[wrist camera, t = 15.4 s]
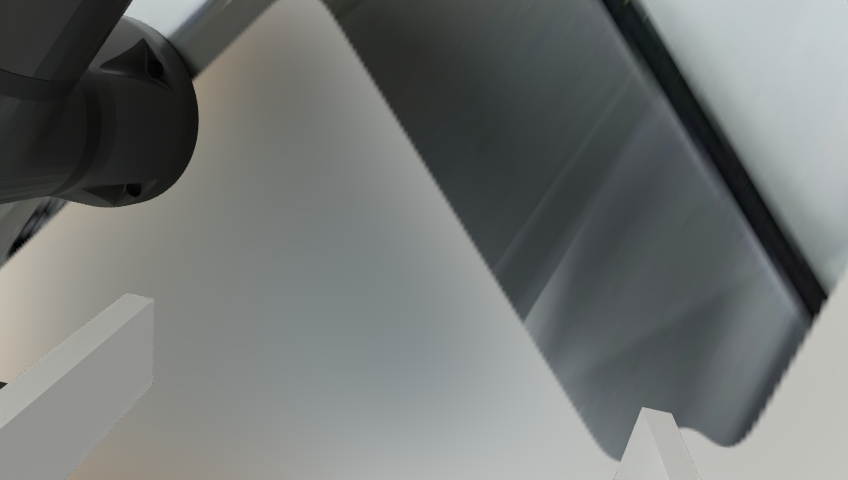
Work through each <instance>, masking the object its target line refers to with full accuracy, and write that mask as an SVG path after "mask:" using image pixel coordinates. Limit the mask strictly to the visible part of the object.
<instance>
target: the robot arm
mask: <svg viewBox="0 0 848 480" xmlns="http://www.w3.org/2000/svg"><path fill="white" fill-rule="evenodd" d="M132 1H133V0H0V204H5V203H11V202H17V201H22V200H28V199H34V198H40V197H46V196H50V197H54V198H59V199H63V200H68V201H72V202H77V203H81V204H85V205H90V206H95V207H121V206H127V205H131V204H136V203H141V202H144V201H147V200H150V199H153V198H154V197H157V196H159V195H160V194H162V193H164V192H165V191H166V190H168V189H169V188H170V187H171V186H172V185H173V184H174V183H175V182H176V181H177V180H178V179H179V178H180V177H181V175H182V174H183V172H184V171H185V169H186V167H187V166H188V164H189V162H190V159H191V157H192V155H193V151H194V148H195V145H196V141H197V135H198V122H199V117H198V105H197V99H196V94H195V90H194V87H193V84H192V81H191V78H190V76H189V73H188V71H187V69H186V67H185V65H184V63H183V62H182V60H181V58H180V57H179V55H178V54H177V53H176V51H175V50H174V49H173V47H172V46H171V45H170V44H169V43H168V42H167V41H166V40H165V39H164V38H163V37H162V36H161V35H160V34H159V33H157V32H156V31H155V30H154V29H152V28H151V27H149V26H148V25H146V24H144V23H142V22H140V21H138V20H136V19H134V18H131V17H128V16H124V15H123V14H124V13H125V11H126V10H127V8H128V7H129V5H130V4H131V2H132ZM153 330H154V299H152V298H147V297H143V296H139V295H134V294H129V293H126V294H125V295H123V296H122V297H120V298H119V299H118V300H117V301H115V302H114V303H113V304H111V305H110V306H109V307H108V308H106V309H105V310H104V311H102V312H101V313H100V314H98V315H97V316H96V317H94V318H93V319H92V320H90V321H89V322H88V323H87V324H85V325H84V326H83V327H81V328H80V329H79V330H77V331H76V332H75V333H74V334H72V335H71V336H70V337H68V338H67V339H66V340H64V341H63V342H62V343H60V344H59V345H58V346H57V347H55V348H54V349H53V350H51V351H50V352H49V353H47V354H46V355H45V356H43V357H42V358H41V359H40V360H38V361H37V362H36V363H34V364H33V365H32V366H30V367H29V368H28V369H27V370H25V371H24V372H23V373H21V374H20V375H19V376H17V377H16V378H15V379H14V380H12V381H11V382H10V383H4V382H0V480H65V479H66V478H67V477H68V476H69V475H70V474H71V472H72V471H73V470H74V469H75V468H76V467H77V466H78V465H79V464H80V463H81V462H82V461H83V459H84V458H85V457H86V456H87V455H88V454H89V453H90V452H91V451H92V450H93V449H94V448H95V446H96V445H97V444H98V443H99V442H100V441H101V440H102V439H103V438H104V437H105V435H106V434H107V433H108V432H109V431H110V430H111V429H112V428H113V426H115V425H116V424H117V422H118V421H119V420H120V419H121V418H122V417H123V416H124V415H125V414H126V413H127V412H128V410H129V409H130V408H131V407H132V406H133V405H134V404H135V403H136V402H137V401H138V400H139V398H140V397H141V396H142V395H143V394H144V393H145V392H146V391H147V390H148V389H149V388H150V386H151V385H152V384H153V337H154V336H153V335H154V334H153V333H154V331H153ZM614 480H701V479H700V477H699V475H698V472H697V470H696V468H695V466H694V463H693V461H692V459H691V456H690V454H689V452H688V450H687V447H686V445H685V443H684V441H683V438H682V436H681V434H680V432H679V429H678V427H677V425H676V423H675V420H674V418H673V416H672V414H671V413H667V412H662V411H658V410H653V409H649V408H644V407H642V409H641V411H640V414H639V416H638V419H637V421H636V424H635V427H634V429H633V432H632V434H631V437H630V439H629V442H628V444H627V447H626V449H625V452H624V455H623V457H622V460H621V462H620V465H619V467H618V470H617V472H616V475H615V477H614Z"/></svg>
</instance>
